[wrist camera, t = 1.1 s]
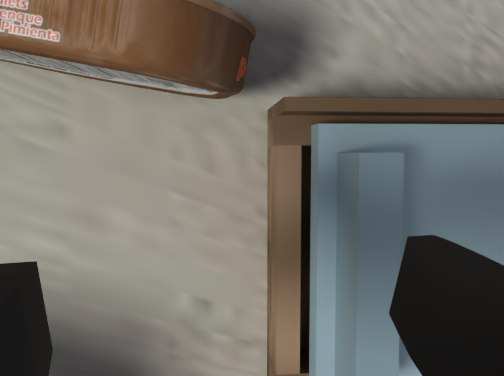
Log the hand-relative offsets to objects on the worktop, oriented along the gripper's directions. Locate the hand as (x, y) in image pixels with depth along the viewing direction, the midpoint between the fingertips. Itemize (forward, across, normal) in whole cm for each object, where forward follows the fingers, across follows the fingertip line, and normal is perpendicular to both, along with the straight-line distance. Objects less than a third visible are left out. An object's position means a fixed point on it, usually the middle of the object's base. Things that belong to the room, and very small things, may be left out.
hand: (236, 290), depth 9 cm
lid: (+7, -11, +5) cm, 13 cm away
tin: (+15, +5, -2) cm, 16 cm away
